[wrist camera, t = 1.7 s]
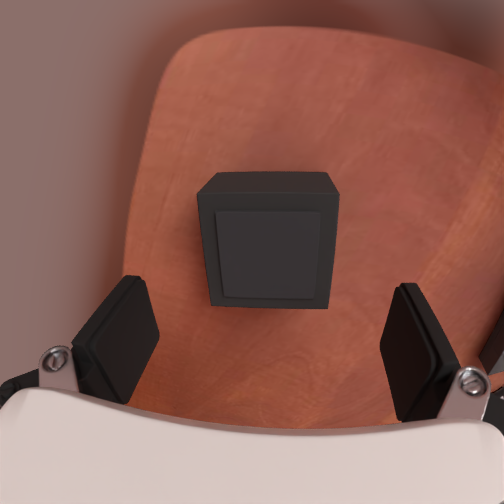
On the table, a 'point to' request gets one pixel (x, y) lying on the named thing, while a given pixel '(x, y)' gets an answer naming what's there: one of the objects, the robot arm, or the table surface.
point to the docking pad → (494, 350)
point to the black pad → (269, 238)
